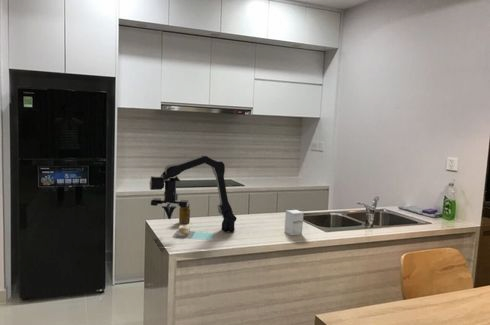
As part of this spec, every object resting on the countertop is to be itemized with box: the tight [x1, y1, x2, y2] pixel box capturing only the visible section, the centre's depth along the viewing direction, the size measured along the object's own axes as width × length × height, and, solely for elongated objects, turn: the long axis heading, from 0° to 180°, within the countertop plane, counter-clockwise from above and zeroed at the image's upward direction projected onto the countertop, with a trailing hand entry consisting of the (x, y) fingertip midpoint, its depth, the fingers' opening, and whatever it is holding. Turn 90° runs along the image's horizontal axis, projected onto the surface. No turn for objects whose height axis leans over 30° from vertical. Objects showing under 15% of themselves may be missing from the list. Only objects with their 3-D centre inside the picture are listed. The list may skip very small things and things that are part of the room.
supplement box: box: [284, 209, 304, 237], centre depth 217 cm, size 7×7×13 cm
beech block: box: [177, 224, 191, 236], centre depth 203 cm, size 5×5×4 cm
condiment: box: [176, 203, 193, 225], centre depth 224 cm, size 7×8×12 cm
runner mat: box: [171, 230, 215, 241], centre depth 203 cm, size 20×12×1 cm, turn 87°
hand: (169, 218), depth 203 cm, fingers closed
